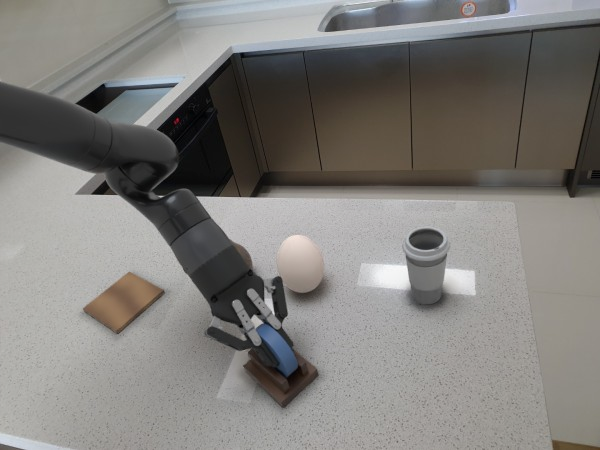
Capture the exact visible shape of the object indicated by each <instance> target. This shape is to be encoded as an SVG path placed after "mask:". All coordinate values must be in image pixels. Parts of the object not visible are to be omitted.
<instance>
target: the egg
mask: <svg viewBox="0 0 600 450" xmlns="http://www.w3.org/2000/svg"><path fill="white" fill-rule="evenodd" d="M276 269H277V273H278V276H280V277H281V278H282V281H283V285H285V286H286V287H287V288H288V289H289V290H291V291H293V292H295V293H299V294H304V293H306V294H307V293H309V292H312V291H313V290H315V289H317V287H318V286H319V285H320V284H321V282H322V280H323V278H324V274H325V261H324V256H323V254H322V252H321V249H320V248H319V247H318V245H316V243H315V242H314V241H313V240H312V239H310V237H307V236H305V235H302V234H293V235H290V236H288V237H286V239H284V240H283V241H282V243H281V245H280V247H279V249H278V252H277V257H276Z"/></svg>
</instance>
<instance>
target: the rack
mask: <svg viewBox="0 0 600 450" xmlns="http://www.w3.org/2000/svg"><path fill="white" fill-rule="evenodd" d="M293 350H294V352H293V353H294V355H295V357H296V360H297V363H298V367H297V369H296V370H295V371H294V372H292V373H291V374H290V375H289V376H288V377H287V378H285V377H284V376H283V375H282V374H280V373H279V372H278V371H277V370H276V369H275V368H274V367H272V366H266V365H265V364H264V363H263V362H262V360H261V359H260V357H259V356H258V355H257V353H256V352H255V351H254V350H253V349H251V348H250V349H248V350H247V352H246V353H247V356H248V358H249V360H248V361H246V362H245V363H244V364H243V365H242V368H243V369H244V371H245V373H246V374H247V375H248V376H249V377H250V378H251V379H252V380H254V382H256V383H257V384H258V385H259V386H260V387H261V388H262V390H264V391H265V392H266V393H267V394H268V396H270V397H271V398H272V399H273V400H274V401H275V402H276V403H277V404H278V405H279V406H280V407H281V408H282V409H284V408H285V407H286V406H287V405H288V404H289V403H291V402H292V401H293V400H294V399H295V398H296V397H297V396H298V395H299V394H300V393H301V392H302V391H304V390H305V388H306V387H308V385H310V384H311V383H312V382H313V381H314V380H315V379H316V378H317V377H318V376H319V375H320V374H319V371H318V368H317V367H315V365H313V364H312V363H311V362H309V361H308V360H307V359H306V358H305V357H303V356H302V355H301V354H300V353H299V352H297V351H296V350H295V349H294V348H293Z"/></svg>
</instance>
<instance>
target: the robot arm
mask: <svg viewBox="0 0 600 450" xmlns="http://www.w3.org/2000/svg"><path fill="white" fill-rule="evenodd" d="M0 143H1V144H4V145H6V146H7V145H8V146H10V147H14V148H16V149H19V150H22V151H25V152H28V153H31V154H34V155H37V156H40V157H43V158H46V159H49V160H50V161H51V160H52V161H55V162H57V163H60V164H63V165H66V166H68V167H72V168H74V169H77V170H79V171H82V172H83V171H84V172H86V173H90V174H94V175H102V174H103V176H104V179H105V181H106V183H107V185H108V187H109V188H110V189H111V190H112V191H113V192H114V193H115V194H116V195H117V196H119V197H120V198H121V199H122V200H123V201H125V202H127V203H128V204H129V205H130V206H132V207H133V208H134V209H135V210H137V211H138V212H139V213H140V214H141V215H143V217H145V219H147V220H148V221H149V222H150V223H151V224H153V226H154V227H155V228H156V230H157V231H158V233H159V235H160V236H161V237H162V238H163V240H164V241H165V243H166V244H167V245H168V246H169V248H170V249H171V251H172V253H173V255H174V256H175V259H176V260H177V262H178V263H179V265H180V267H181V268H182V270H183V272H184V273H185V274H186V275H187V276H188V278H189V279H190V280H191V281H192V283H193V285H194V286H195V287H196V288H197V290H198V291H199V293H200V294H201V295H202V296H203V298H204V299H205V301H206V303H208V305H209V307H210V313H211V315H212V318H211V320H210V323H209V325H208V327H207V328H205V330H204V332H203V334H204V336H205V337H207V338H208V339H211V340H213V341H215V342H218V343H220V344H222V345H225V346H226V347H229V348H231V349H233V350H235V351H237V352H243V351H246V350H247V351H248V350H250V349H253V350H254V351H255V352H256V353H257V355H258V356H259V357H260V359H261V360H262V362H263V363H264V364H265V365H266V366H272V367H277V366H278V365H279V364H280V363H279V361H278V360H277V358H276V357H275V356H274V354H273V353H272V352H271V350H270V349H269V347H268V346H267V345H266V343H265V342H262V340H261V338H260V336H259V335H258V333H257V331H256V330H255V329H256V327H255V325H254V323H253V321H252V319H253V317H254V316H255V317H256V318H257V320H259V321H261V323H262V324H263V323H264V324H267V325H269V326H270V327H272V328H273V329H274V330H275V331H276V332H278V333H279V335H280V336H281V337H282V338H283V339H284V340H285V341H286V343H287V344H288V345H289V347H290V348H291V350H292V352H294V350H295V349H294V348H293V347H294V346H295V345H294V341H293V340H292V339H291V337H290V336H289V334H288V333H287V332H286V330H285V329H284V328H283V322H284V321H285V319H286V318H287V317H288V315H289V312H288V306H287V300H286V299H287V298H286V293H285V288H284V283H283V281H282V278H281V277H280V275H276V276H274V277H273V278H264V279H263V278H262V277H261V276H260V275H258V274H256V273H255V272H254V271H253V268H252V269H251V268H250V267H249V265H248V264H247V262H246V261H245V260H244V258H243V257H242V256H241V254H240V253H239V251H238V250H237V249H236V247H235V246H234V245H233V243H232V242H231V241H230V239H231V238H229V237H228V235H227V234H226V232H225V231H224V229H223V228H222V227H221V226H220V225H219V224H218V223H217V222H216V221H215V220H214V219H213V218H212V216H211V215H210V214H209V212H208V211H207V209H206V208H205V207H204V205H203V204H202V203H201V201H200V200H199V198H198V197H197V196H196V194H195V193H194V192H193V191H191V190H190V189H189V188H179V189H176V190H173V191H171V192H169V193H168V194H165V195H163V196H159V195H157V194H156V193H155V192H154V191H153V190H154V189H155V188H156V187H157V186H158V185H160V184H161V183H162V182H163V181H164V180H165V179H167V178H168V177H169V176H170V175H172V174H173V173H174V172H175V171H176V169H178V166H179V165H180V152H179V150H178V148H177V145H176V144H175V143H174V141H173V140H172V139H171V138H170V137H169V136H168V135H166V134H165V133H163V132H161V131H159V130H157V129H155V128H152V127H150V126H145V125H142V124H141V125H140V124H135V123H134V124H133V123H127V122H121V121H116V120H109V119H107V118H105V117H103V116H101V115H100V114H97V113H95V112H93V111H91V110H89V109H87V108H86V107H83V106H81V105H79V104H77V103H74V102H72V101H69V100H68V99H64V98H61V97H59V96H56V95H52V94H50V93H46V92H43V91H39V90H35V89H31V88H27V87H24V86H20V85H15V84H12V83H8V82H5V81H2V80H0ZM265 289H266V292H267V293H268V294H269V295H271V302H272V309H273V310H272V309H271V308H270V307H269V305H267V304H266V302H265V297H266V295H265ZM221 321H223V322H226V323H227V324H228V323H229V324H232V325H235V326H236V327H237V329H238V330H239V333H241V334H242V335H243V337H244V338H245V340H244V339H242V338H239V337H237V336H236V335H233V334H230V333H229V332H226V331H225V330H226V328H225V326H224V324H223V323H221ZM293 349H294V350H293Z"/></svg>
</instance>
